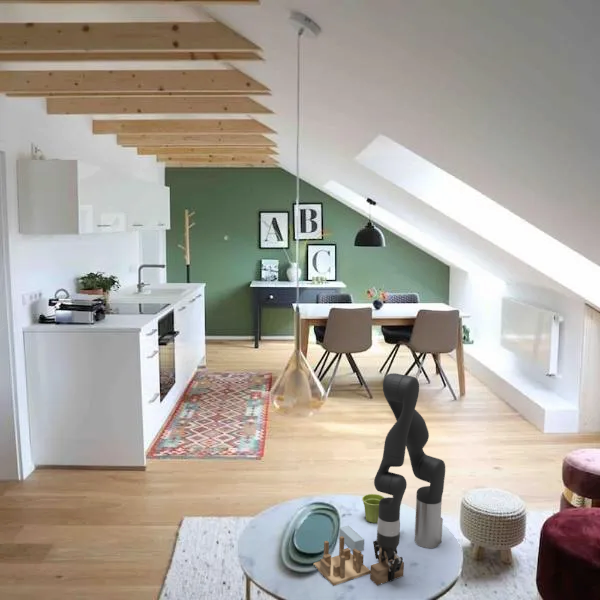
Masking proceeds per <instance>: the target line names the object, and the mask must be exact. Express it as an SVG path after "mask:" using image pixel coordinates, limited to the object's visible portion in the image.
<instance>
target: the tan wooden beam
mask: <svg viewBox="0 0 600 600" xmlns="http://www.w3.org/2000/svg"><path fill="white" fill-rule="evenodd" d="M392 560H393V559H392ZM389 561H391V560H389ZM391 567H393V565H392V564H391ZM404 569H405V561H402V564H401V567H400V570H399V571H397V572H395V578H394V580H396V579H399V578H401V577H404V576H405V575H404V571H405V570H404ZM369 570H370V574H369V579H370V581H372V582H373V583H374V584H375V585H377V586H379V585H382V584H385V583H388V582H389V581H388V565H387V564H386V560H385V561H382V562H377V563H372V564H370V568H369ZM381 583H382V584H381ZM378 584H379V585H378Z"/></svg>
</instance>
